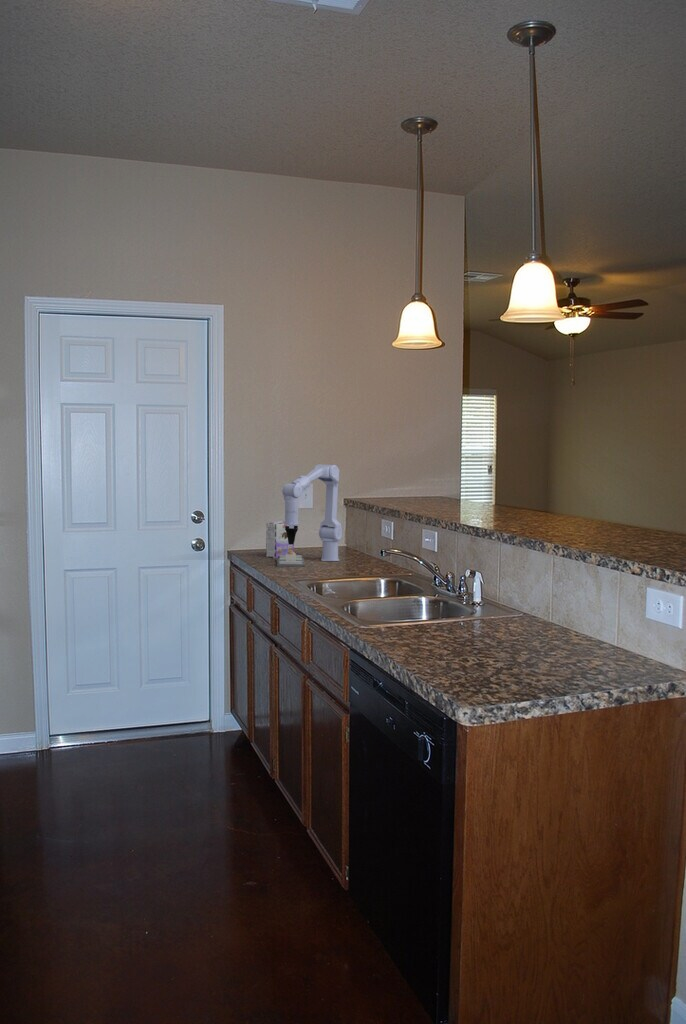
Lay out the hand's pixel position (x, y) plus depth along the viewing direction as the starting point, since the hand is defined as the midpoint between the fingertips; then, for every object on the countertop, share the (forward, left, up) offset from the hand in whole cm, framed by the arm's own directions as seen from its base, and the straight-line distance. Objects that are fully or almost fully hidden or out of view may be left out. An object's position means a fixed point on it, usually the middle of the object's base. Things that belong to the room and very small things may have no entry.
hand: (291, 543), depth 341 cm
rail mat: (-12, 0, -10) cm, 16 cm away
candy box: (-32, -5, -11) cm, 35 cm away
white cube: (-6, 0, -9) cm, 11 cm away
